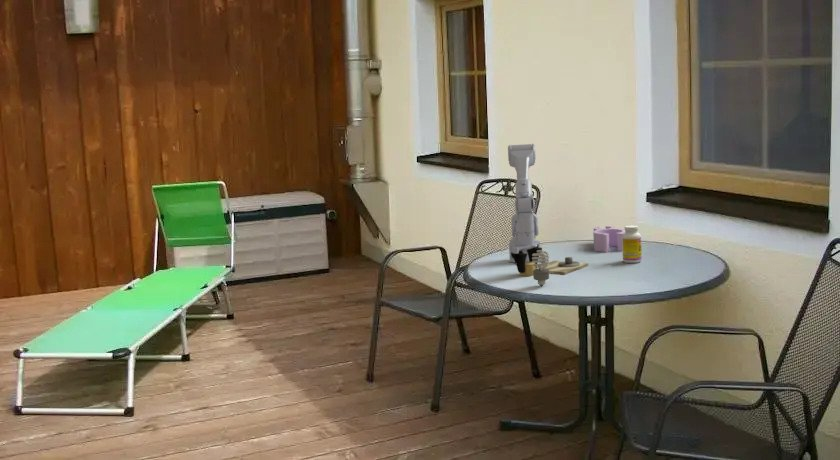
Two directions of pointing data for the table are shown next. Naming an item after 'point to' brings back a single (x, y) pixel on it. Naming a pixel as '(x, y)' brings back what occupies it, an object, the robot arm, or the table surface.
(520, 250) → the robot arm
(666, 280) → the table surface
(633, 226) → the supplement bottle
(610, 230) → the clip
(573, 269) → the stud plate
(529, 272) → the cap
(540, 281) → the light bulb
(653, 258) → the table surface
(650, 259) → the table surface
